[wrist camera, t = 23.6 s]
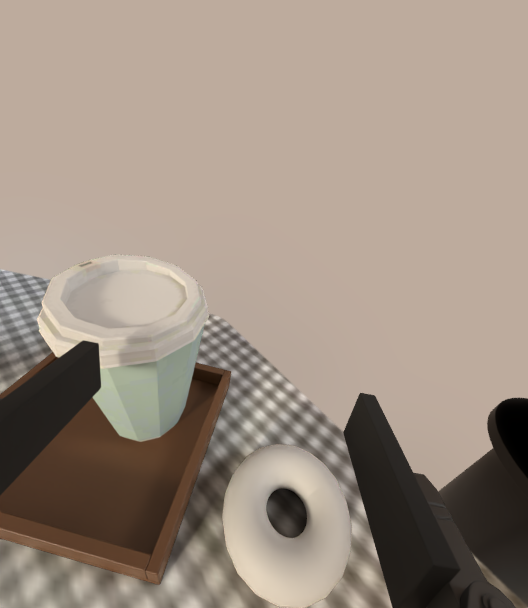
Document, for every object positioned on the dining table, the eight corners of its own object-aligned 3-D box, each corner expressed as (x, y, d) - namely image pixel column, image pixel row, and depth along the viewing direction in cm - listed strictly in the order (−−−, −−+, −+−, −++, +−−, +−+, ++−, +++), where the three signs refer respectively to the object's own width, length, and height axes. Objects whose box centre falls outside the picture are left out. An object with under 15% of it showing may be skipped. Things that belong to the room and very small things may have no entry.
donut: (194, 513, 21) (288, 668, 15) (195, 494, 19) (303, 663, 13) (279, 435, 27) (365, 525, 22) (285, 415, 25) (382, 508, 20)
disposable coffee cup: (222, 398, 29) (238, 280, 20) (146, 500, 20) (122, 368, 12) (147, 358, 32) (135, 239, 23) (53, 432, 23) (-19, 287, 15)
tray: (229, 386, 31) (231, 371, 30) (159, 585, 17) (157, 575, 16) (81, 348, 32) (76, 332, 30) (-99, 509, 18) (-123, 493, 16)
